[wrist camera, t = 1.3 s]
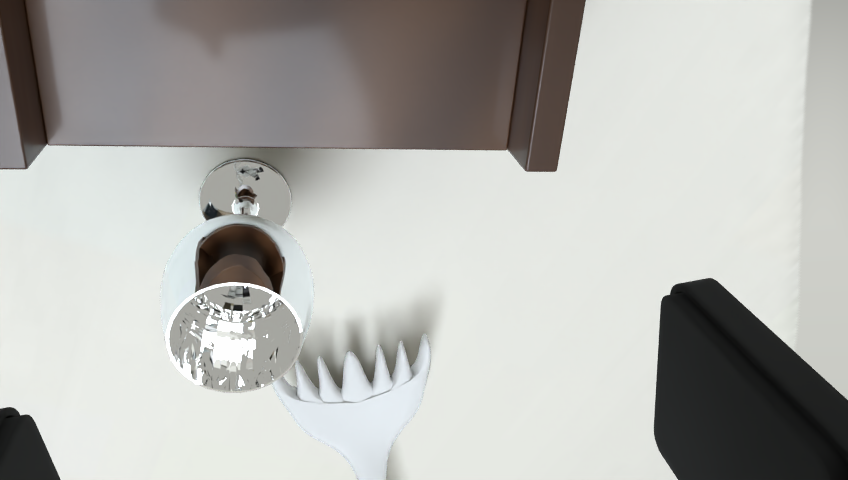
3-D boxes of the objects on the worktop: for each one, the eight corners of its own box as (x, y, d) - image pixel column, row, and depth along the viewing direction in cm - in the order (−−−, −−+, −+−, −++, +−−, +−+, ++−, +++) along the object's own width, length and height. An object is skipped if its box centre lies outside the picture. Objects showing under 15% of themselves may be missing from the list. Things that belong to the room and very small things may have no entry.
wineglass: (263, 271, 38) (261, 427, 27) (162, 216, 35) (116, 364, 25) (327, 186, 36) (350, 317, 26) (226, 123, 34) (206, 238, 23)
